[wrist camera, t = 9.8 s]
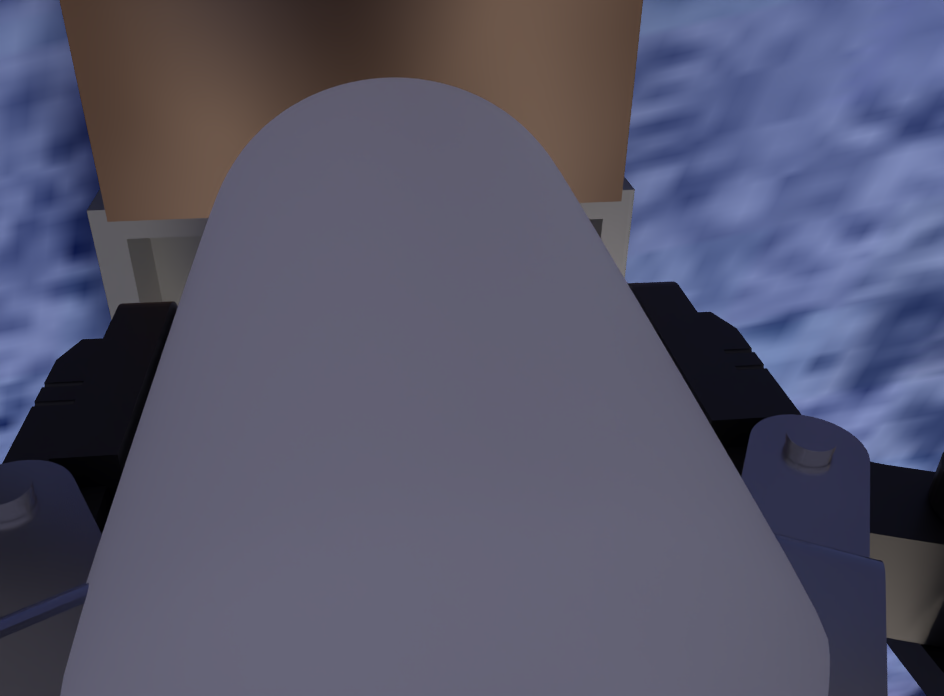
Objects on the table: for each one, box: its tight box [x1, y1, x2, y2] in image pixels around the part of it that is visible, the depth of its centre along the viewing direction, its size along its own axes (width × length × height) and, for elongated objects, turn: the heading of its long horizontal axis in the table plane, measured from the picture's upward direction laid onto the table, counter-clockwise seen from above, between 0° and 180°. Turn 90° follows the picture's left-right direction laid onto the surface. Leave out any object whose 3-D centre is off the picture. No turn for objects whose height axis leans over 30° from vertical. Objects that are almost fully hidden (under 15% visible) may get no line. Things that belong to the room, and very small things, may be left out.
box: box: [87, 177, 635, 319], centre depth 26 cm, size 14×10×3 cm
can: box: [60, 78, 830, 696], centre depth 11 cm, size 6×6×12 cm
